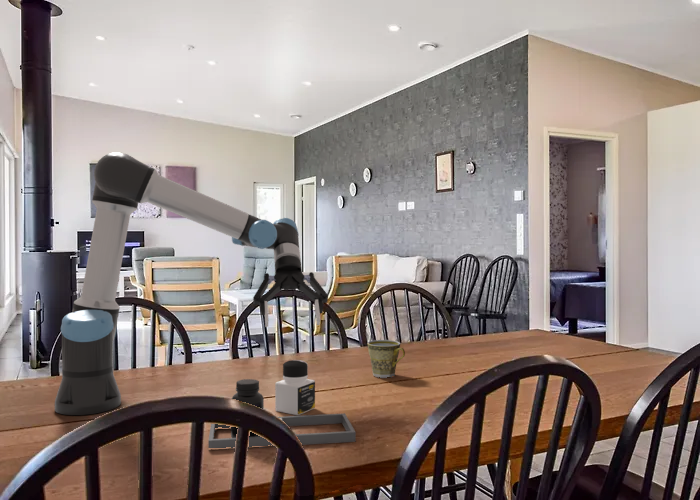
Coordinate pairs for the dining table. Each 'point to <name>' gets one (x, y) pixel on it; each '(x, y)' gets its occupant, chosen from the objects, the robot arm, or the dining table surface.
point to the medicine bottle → (295, 389)
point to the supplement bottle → (248, 397)
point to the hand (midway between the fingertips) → (292, 323)
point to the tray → (304, 438)
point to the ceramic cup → (384, 357)
